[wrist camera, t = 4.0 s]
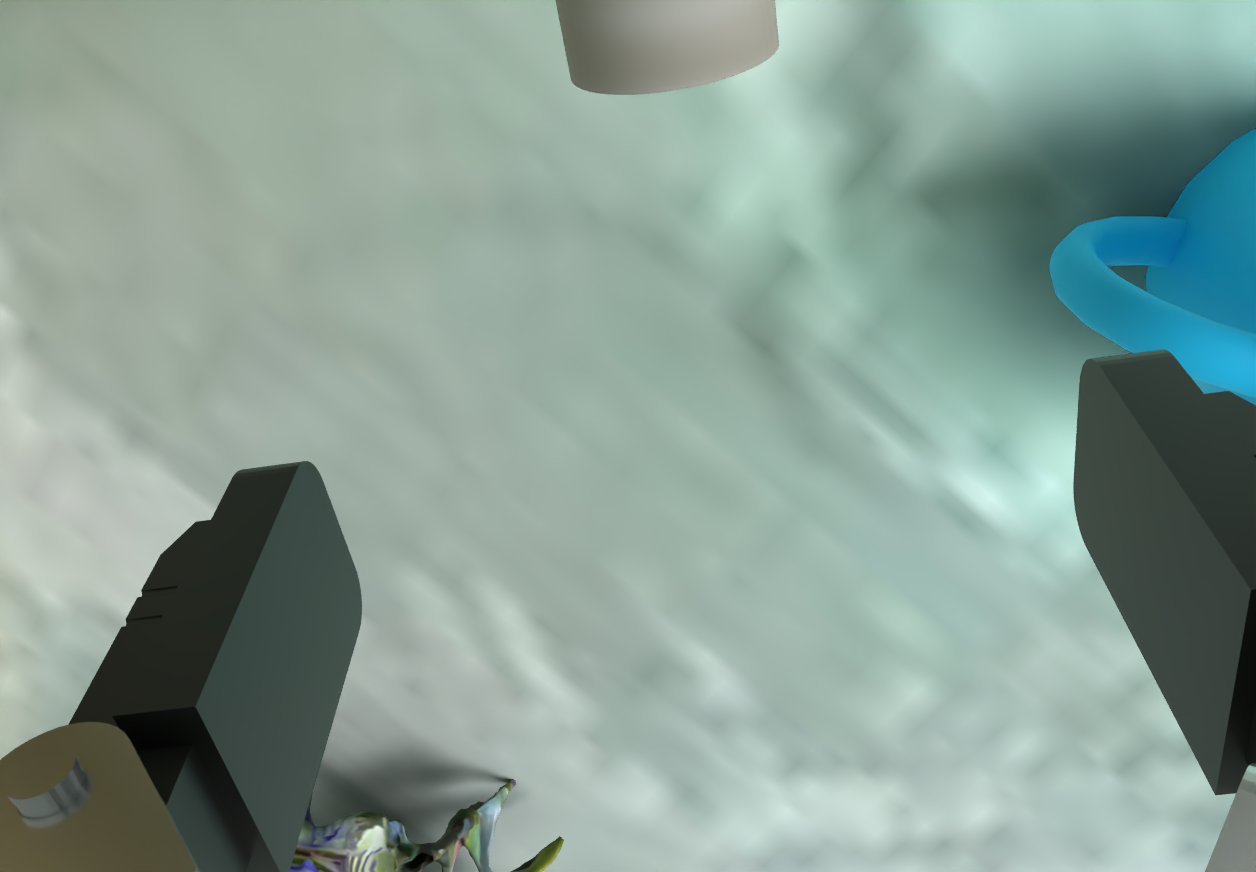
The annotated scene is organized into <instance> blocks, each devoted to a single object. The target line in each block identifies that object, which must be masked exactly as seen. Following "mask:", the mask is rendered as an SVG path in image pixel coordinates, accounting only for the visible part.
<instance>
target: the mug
mask: <svg viewBox="0 0 1256 872" xmlns="http://www.w3.org/2000/svg"><path fill="white" fill-rule="evenodd" d="M1121 265H1147V266H1148V270H1147V273H1146V277H1145V278H1146V291H1147V292H1146V291H1144V290H1143V289H1141V288H1139V287H1137V286H1135V285H1134V284H1132V283H1130V282H1128V281H1127V280H1125V279H1123V278H1121V277H1119V276H1118V275H1117V274H1116V273H1114V272H1113V271H1112V270H1111V269H1110V268H1109V267H1108V266H1121ZM1050 274H1051V278H1052V282H1053V286H1054V290H1055V293H1056V296H1057V297H1058V299H1059V300H1060V301H1061V302H1062V303H1063V304H1064V305H1065V306H1066V307H1067V308H1068V309H1069V310H1070V311H1071V312H1072V313H1073V314H1074V315H1076V316H1077V317H1078V318H1079V319H1080V320H1081V321H1082V322H1083V323H1084V324H1085V325H1086V326H1088V327H1089V328H1091V329H1093V330H1094V331H1096V332H1098V333H1099V334H1101V335H1102V336H1104V337H1106V338H1107V339H1109V340H1111V341H1112V342H1114V343H1116V344H1117V345H1119V346H1120V347H1122V348H1124V349H1125V350H1127V351H1129V352H1131V353H1139V352H1147V351H1154V350H1162V349H1164V350H1168V351H1169V352H1171V353H1172V355H1173V356H1174V357H1175V358H1176V359H1177V360H1178V362H1179V363H1180V364H1181V365H1182V367H1183V368H1184V369H1185V370H1186V372H1187V373H1188V374H1189V376H1190V377H1191V378H1192V379H1193V381H1194V382H1195V383H1196V384H1197V386H1198V387H1199V388H1200V389H1201V391H1202V392H1203V393H1204V394H1207V393H1215V392H1223V391H1230V392H1232V393H1234V394H1236V395H1238V396H1239V397H1241V398H1243V399H1245V400H1247V401H1248V402H1250V403H1252V404H1254V405H1256V128H1255V129H1253V130H1251V131H1249V132H1248V133H1246V134H1244V135H1242V136H1241V137H1239V138H1237V139H1235V140H1234V141H1232V142H1231V143H1230V144H1229V145H1228V146H1227V147H1226V148H1225V149H1224V150H1222V151H1221V152H1220V153H1219V154H1218V155H1217V156H1216V157H1215V158H1214V159H1213V160H1212V161H1211V162H1210V163H1209V164H1208V165H1207V166H1205V167H1204V168H1203V169H1202V170H1201V171H1200V172H1199V173H1198V174H1197V175H1196V176H1195V177H1194V178H1193V179H1192V180H1191V181H1190V182H1189V183H1188V184H1187V185H1186V187H1185V189H1184V190H1183V192H1182V193H1181V195H1180V197H1179V198H1178V200H1177V201H1176V203H1175V204H1174V206H1173V208H1172V209H1171V211H1170V212H1169V214H1168V216H1167V217H1159V216H1115V217H1110V218H1105V219H1101V220H1096V221H1091V222H1087V223H1083V224H1081V225H1079V226H1078V227H1076V228H1075V229H1074V230H1073V231H1072V232H1071V233H1069V234H1068V235H1067V236H1066V237H1065V238H1064V239H1063V240H1062V241H1061V242H1060V243H1059V244H1058V245H1057V247H1056V248H1055V250H1054V251H1053V253H1052V255H1051V259H1050Z"/></svg>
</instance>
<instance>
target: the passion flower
mask: <svg viewBox="0 0 1256 872" xmlns="http://www.w3.org/2000/svg"><path fill="white" fill-rule="evenodd" d="M515 785H516V782H515V780H514V779H512V780H511V781H510V782H509V783H508V784H506V785H504V786H502V787H501V788H500V789H499V791H498V792H496V793H495V795H494V796H493V797H492V798H490V799H489V800H488V801H486V802H477V803H476V804H474V805H471V806H470V807H469V808H467V809H461V810H459V811H458V812H457V814H456V815H455V816H454V817H453V818H452V819H451V820H450V822H449V823H448V827H447V829H446V831H445V833H444V835H443V836H442V837H441V839H440V840H438V841H437V842H436V843H426V844H415V843H413V842H410V841H409V840H408V838H407V836H406V833H405V829H404V827H403V825H402V823H401V822H400V821H398V820H394V821H391V822H389V820H388V818H387V816H386V815H383V814H379V813H373V812H363V811H362V812H358V813H356V814H355V815H352V816H348V817H343V818H340V819H339V820H337V821H335V822H333V823H331V824H330V825H327V826H320V827H316V826H315V825H314V823H313V822H312V819H311V814H310V805H311V799H312V795H311V798H310V802H309V805H308V809H307V812H306V816H305V819H304V822H303V826H302V829H301V833H300V836H299V840H298V843H297V847H296V850H295V853H294V857H293V860H292V864H291V867H290V871H289V872H422V870H423V867H425V866H426V865H428V864H430V863H432V862H433V861H436V862H439V863H440V864H441V865H442V872H453V866H454V863H455V860H456V857H457V854H458V851H459V849H460V847H462V846H465V847H466V848H467V849H468V850H469V853H470V856H471V857H472V858H473V860H474V862H475V864H476V866H477V868H478V870H479V872H492V871H491V869H490V867H489V847H490V845H491V842H492V840H493V837H494V831H495V825H496V822H497V819H498V816H499V813H500V811H501V809H502V806H503V803H504V801H505V799H506V797H507V794H508V793H509V791H510V790H511V789H512V788H513V787H514V786H515ZM563 841H564V840H563V839H562V838H561V837H559V838H557V839H556V840H555V841H553V842H552V843H550V844H549V845H548V846H546V847H545V848H544V849H542V850H541V851H540V852H539V853H538V854H537V855H536V856H535V857H534V858H533V859H531V860H529V861H528V862H526V863H524V864H523V865H521V866H520V867H519V868H517V869H515V870H513V871H511V872H542V871H543V870H544V869H545V868H546V867H547V866H548V865H550V864H551V863H552V862H553V861H554V859H555V858H556V856H557V854H558V853H559V851H560V849H561V847H562V844H563ZM408 857H409V858H408ZM407 858H408V859H407Z"/></svg>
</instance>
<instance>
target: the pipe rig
mask: <svg viewBox="0 0 1256 872" xmlns="http://www.w3.org/2000/svg"><path fill="white" fill-rule="evenodd" d="M556 5H557V10H558V15H559V20H560V25H561V31H562V36H563V41H564V46H565V51H566V56H567V61H568V66H569V72H570V77H571V81H572V82H573V84H574V85H575V86H577V87H579V88H581V89H583V90H586V91H589V92H595V93H601V94H613V95H635V94H650V93H659V92H667V91H674V90H679V89H685V88H690V87H695V86H699V85H704V84H708V83H711V82H715V81H719V80H722V79H725V78H728V77H731V76H734V75H737V74H739V73H742V72H744V71H747V70H749V69H751V68H753V67H755V66H757V65H759V64H761V63H763V62H764V61H766V60H767V59H769V58H770V57H771V56H772V55H773V54H774V53H775V52H776V51H777V49H778V47H779V40H778V29H777V19H776V8H775V0H556Z"/></svg>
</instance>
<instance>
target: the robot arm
mask: <svg viewBox="0 0 1256 872" xmlns="http://www.w3.org/2000/svg"><path fill="white" fill-rule="evenodd" d="M1074 504H1075V511H1076V516H1077V521H1078V525H1079V529H1080V532H1081V535H1082V538H1083V541H1084V543H1085V545H1086V547H1087V549H1088V551H1089V553H1090V555H1091V557H1092V559H1093V561H1094V563H1095V565H1096V567H1097V569H1098V571H1099V572H1100V574H1101V576H1102V578H1103V580H1104V582H1105V584H1106V586H1107V588H1108V590H1109V592H1110V594H1111V596H1112V597H1113V599H1114V601H1115V603H1116V605H1117V607H1118V609H1119V611H1120V613H1121V615H1122V617H1123V619H1124V621H1125V622H1126V624H1127V626H1128V628H1129V630H1130V632H1131V634H1132V636H1133V638H1134V640H1135V642H1136V644H1137V646H1138V647H1139V649H1140V651H1141V653H1142V655H1143V657H1144V659H1145V661H1146V663H1147V665H1148V667H1149V669H1150V670H1151V672H1152V674H1153V676H1154V678H1155V680H1156V682H1157V684H1158V686H1159V688H1160V690H1161V692H1162V694H1163V695H1164V697H1165V699H1166V701H1167V703H1168V705H1169V707H1170V709H1171V711H1172V713H1173V715H1174V717H1175V719H1176V720H1177V722H1178V724H1179V726H1180V728H1181V730H1182V732H1183V734H1184V736H1185V738H1186V740H1187V742H1188V744H1189V745H1190V747H1191V749H1192V751H1193V753H1194V755H1195V757H1196V759H1197V761H1198V763H1199V765H1200V767H1201V769H1202V770H1203V772H1204V774H1205V776H1206V778H1207V780H1208V782H1209V784H1210V786H1211V788H1212V790H1213V792H1214V793H1215V795H1222V794H1232V793H1236V795H1235V798H1234V800H1233V803H1232V805H1231V808H1230V810H1229V813H1228V815H1227V818H1226V820H1225V823H1224V825H1223V828H1222V830H1221V833H1220V835H1219V838H1218V840H1217V843H1216V845H1215V848H1214V850H1213V853H1212V855H1211V858H1210V860H1209V863H1208V865H1207V868H1206V870H1205V872H1256V405H1254V404H1252V403H1250V402H1248V401H1247V400H1245V399H1243V398H1241V397H1239V396H1238V395H1236V394H1234V393H1232V392H1230V391H1223V392H1215V393H1207V394H1204V393H1203V392H1202V391H1201V389H1200V388H1199V387H1198V386H1197V384H1196V383H1195V382H1194V381H1193V379H1192V378H1191V377H1190V376H1189V374H1188V373H1187V372H1186V370H1185V369H1184V368H1183V367H1182V365H1181V364H1180V363H1179V362H1178V360H1177V359H1176V358H1175V357H1174V356H1173V355H1172V353H1171V352H1169V351H1168V350H1164V349H1162V350H1154V351H1147V352H1139V353H1131V354H1124V355H1116V356H1109V357H1101V358H1094V359H1089V360H1087V361H1086V362H1085V363H1084V365H1083V368H1082V371H1081V376H1080V385H1079V401H1078V418H1077V434H1076V451H1075V467H1074ZM141 591H142V597H138V598H137V599H136V601H135V603H134V605H133V607H132V609H131V610H130V612H129V614H128V616H127V618H126V626H125V627H121V629H120V631H119V633H118V634H117V636H116V638H115V640H114V642H113V644H112V645H111V647H110V649H109V651H108V653H107V655H106V656H105V658H104V660H103V662H102V664H101V666H100V668H99V669H98V671H97V673H96V675H95V677H94V679H93V680H92V682H91V684H90V686H89V688H88V690H87V692H86V693H85V695H84V697H83V699H82V701H81V703H80V704H79V706H78V708H77V710H76V712H75V714H74V715H73V717H72V719H71V721H70V723H69V725H66V726H62V727H58V728H56V729H53V730H50V731H48V732H45V733H43V734H41V735H39V736H36V737H34V738H32V739H30V740H29V741H27V742H25V743H24V744H22V745H20V746H19V747H17V748H15V749H14V750H13V751H11V752H10V753H9V754H7V755H6V756H4V757H3V758H2V759H1V760H0V872H289V871H290V867H291V864H292V860H293V857H294V853H295V850H296V847H297V843H298V840H299V836H300V833H301V829H302V826H303V822H304V819H305V816H306V812H307V809H308V805H309V802H310V798H311V795H312V791H313V788H314V785H315V781H316V778H317V774H318V771H319V767H320V764H321V760H322V757H323V754H324V750H325V747H326V743H327V740H328V736H329V733H330V729H331V726H332V723H333V719H334V716H335V712H336V709H337V705H338V702H339V698H340V695H341V692H342V688H343V685H344V681H345V678H346V674H347V671H348V668H349V664H350V661H351V657H352V654H353V650H354V647H355V643H356V640H357V637H358V633H359V629H360V624H361V615H362V600H361V590H360V584H359V579H358V575H357V572H356V569H355V566H354V563H353V560H352V558H351V555H350V552H349V550H348V547H347V544H346V542H345V539H344V536H343V534H342V531H341V528H340V525H339V523H338V520H337V517H336V515H335V512H334V509H333V507H332V504H331V501H330V499H329V496H328V493H327V491H326V488H325V485H324V482H323V480H322V478H321V475H320V473H319V472H318V470H317V468H316V467H315V466H314V465H313V464H312V463H311V462H308V461H303V462H296V463H288V464H281V465H273V466H266V467H258V468H251V469H243V470H240V471H238V472H237V473H235V475H234V476H233V478H232V480H231V481H230V483H229V485H228V487H227V489H226V491H225V493H224V495H223V497H222V499H221V501H220V503H219V505H218V507H217V509H216V511H215V513H214V515H213V517H212V519H211V520H206V521H199V522H195V523H194V524H193V525H192V526H191V527H190V528H189V529H188V530H187V531H186V532H185V533H183V534H182V535H181V536H180V537H179V538H178V539H177V540H176V541H175V542H174V543H173V544H172V545H171V546H170V547H169V548H168V549H166V550H165V551H164V552H163V553H162V554H161V555H160V557H159V559H158V561H157V562H156V564H155V566H154V568H153V570H152V572H151V574H150V575H149V577H148V579H147V581H146V583H145V585H144V586H143V588H142V590H141Z"/></svg>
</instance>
